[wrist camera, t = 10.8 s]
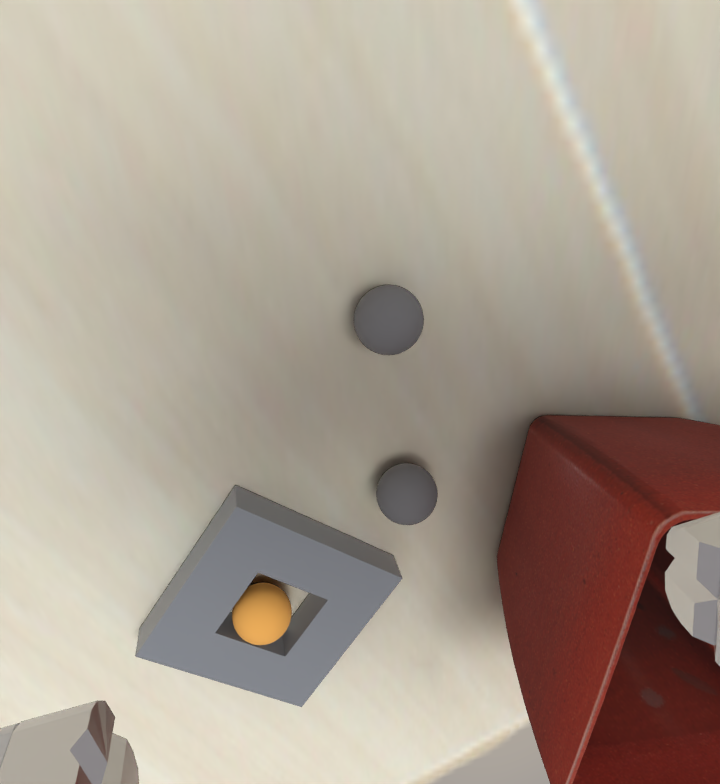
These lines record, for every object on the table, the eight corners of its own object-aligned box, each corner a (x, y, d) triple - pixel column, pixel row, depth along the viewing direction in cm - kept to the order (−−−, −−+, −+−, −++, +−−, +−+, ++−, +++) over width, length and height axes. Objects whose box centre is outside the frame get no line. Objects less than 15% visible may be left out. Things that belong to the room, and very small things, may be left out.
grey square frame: (393, 555, 45) (402, 578, 43) (297, 679, 48) (301, 706, 46) (235, 484, 40) (236, 506, 38) (139, 628, 43) (135, 656, 41)
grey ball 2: (438, 467, 43) (458, 499, 39) (404, 511, 44) (421, 546, 40) (392, 442, 41) (409, 473, 38) (359, 488, 42) (372, 523, 39)
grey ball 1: (425, 299, 38) (446, 319, 34) (387, 353, 39) (405, 377, 35) (372, 264, 36) (389, 281, 33) (335, 321, 37) (347, 343, 34)
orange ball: (308, 590, 43) (294, 637, 40) (279, 619, 45) (263, 666, 42) (260, 561, 43) (242, 605, 39) (233, 591, 45) (213, 637, 41)
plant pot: (740, 377, 45) (1001, 507, 30) (660, 586, 52) (838, 776, 37) (499, 366, 41) (665, 514, 26) (448, 597, 48) (553, 817, 33)
